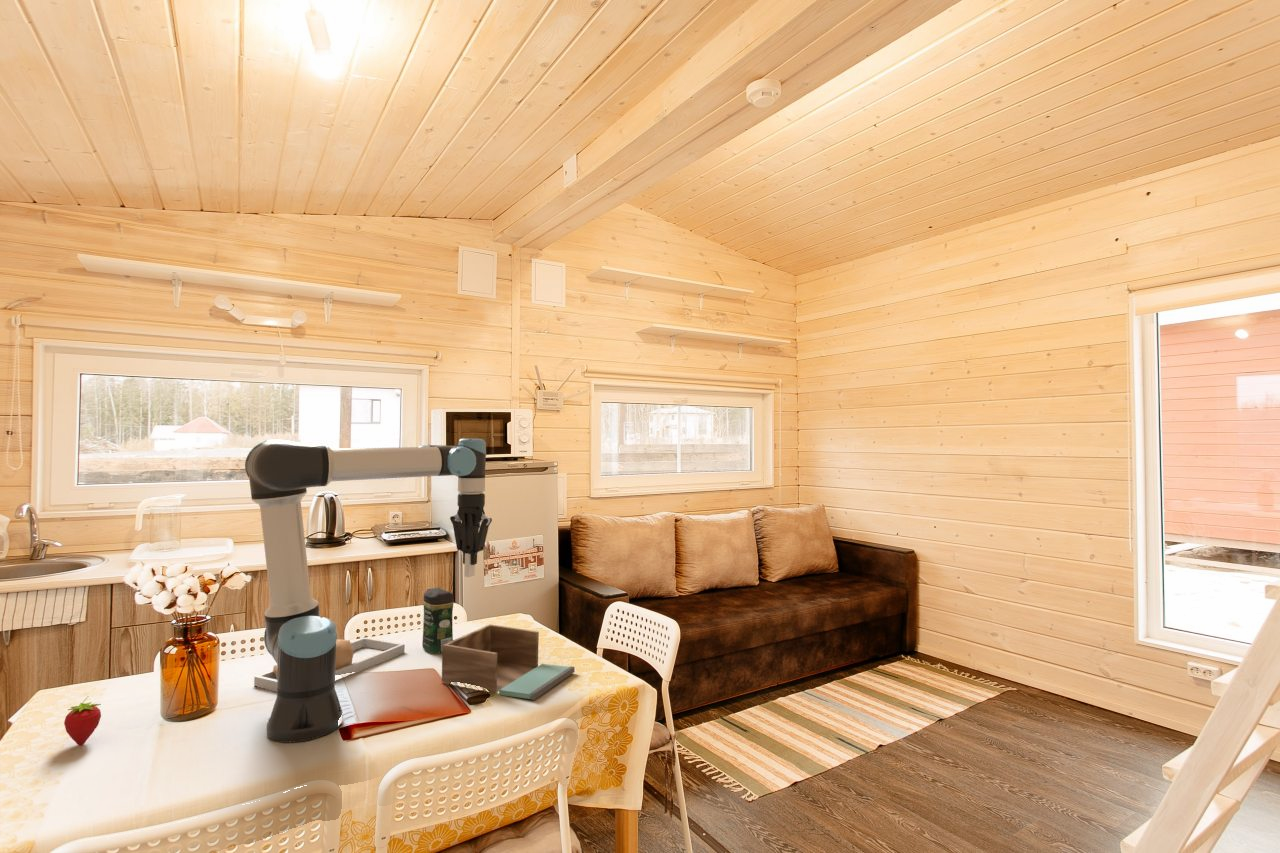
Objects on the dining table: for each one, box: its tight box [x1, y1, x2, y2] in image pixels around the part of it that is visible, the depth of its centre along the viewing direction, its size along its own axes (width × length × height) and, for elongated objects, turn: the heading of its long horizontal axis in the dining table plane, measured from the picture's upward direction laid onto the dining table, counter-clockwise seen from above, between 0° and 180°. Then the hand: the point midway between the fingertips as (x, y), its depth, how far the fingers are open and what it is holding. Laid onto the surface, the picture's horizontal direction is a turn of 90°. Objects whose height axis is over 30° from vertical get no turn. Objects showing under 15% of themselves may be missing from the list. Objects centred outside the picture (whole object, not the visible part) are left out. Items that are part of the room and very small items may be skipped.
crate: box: [441, 624, 540, 695], centre depth 177 cm, size 21×16×11 cm
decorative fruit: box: [63, 695, 102, 746], centre depth 136 cm, size 6×8×10 cm
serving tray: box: [253, 637, 406, 693], centre depth 183 cm, size 37×16×2 cm, turn 158°
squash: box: [272, 638, 355, 680], centre depth 177 cm, size 11×20×9 cm, turn 130°
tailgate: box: [498, 663, 576, 701], centre depth 171 cm, size 21×1×10 cm
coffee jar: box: [422, 587, 455, 654], centre depth 200 cm, size 10×8×19 cm
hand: (469, 575), depth 184 cm, fingers closed
